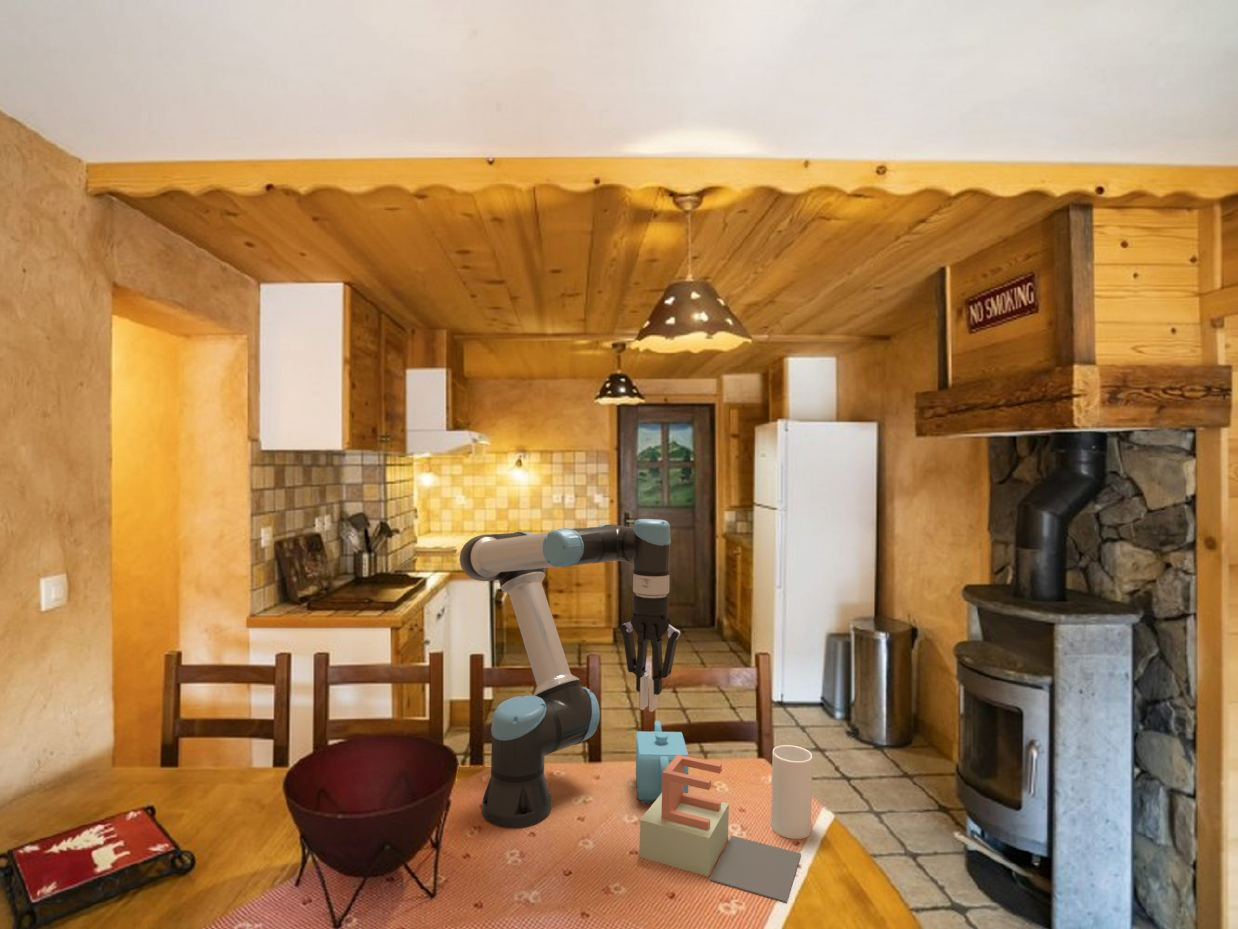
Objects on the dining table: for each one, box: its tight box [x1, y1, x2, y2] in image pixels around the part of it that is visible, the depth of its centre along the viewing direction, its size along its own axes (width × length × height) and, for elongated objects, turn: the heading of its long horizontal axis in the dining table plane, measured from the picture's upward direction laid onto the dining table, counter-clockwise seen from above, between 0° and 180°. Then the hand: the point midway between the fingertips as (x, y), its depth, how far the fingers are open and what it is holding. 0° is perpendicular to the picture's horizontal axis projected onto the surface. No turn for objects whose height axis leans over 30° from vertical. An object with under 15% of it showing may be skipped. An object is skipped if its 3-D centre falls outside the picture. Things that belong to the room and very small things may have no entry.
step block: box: [638, 793, 730, 878], centre depth 131 cm, size 14×14×7 cm
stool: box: [661, 755, 723, 830], centre depth 130 cm, size 10×9×9 cm
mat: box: [709, 835, 802, 904], centre depth 125 cm, size 14×16×1 cm
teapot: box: [635, 720, 690, 804], centre depth 154 cm, size 22×11×14 cm, turn 1°
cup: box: [770, 744, 813, 840], centre depth 139 cm, size 8×8×16 cm
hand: (648, 708), depth 134 cm, fingers closed
